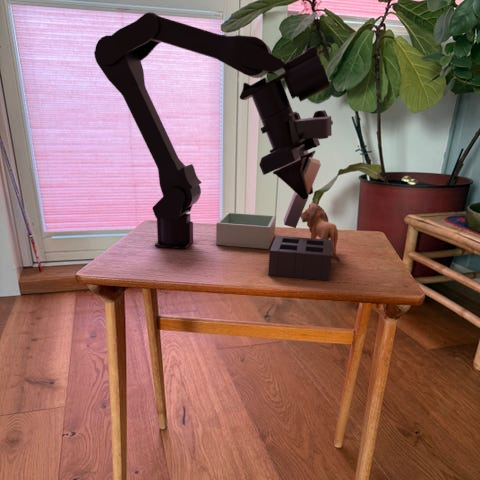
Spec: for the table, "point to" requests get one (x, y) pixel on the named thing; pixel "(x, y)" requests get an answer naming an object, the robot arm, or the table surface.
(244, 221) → the tub
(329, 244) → the caddy
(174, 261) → the table surface
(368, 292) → the table surface
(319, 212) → the lion figurine
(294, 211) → the pink rectangular bar
